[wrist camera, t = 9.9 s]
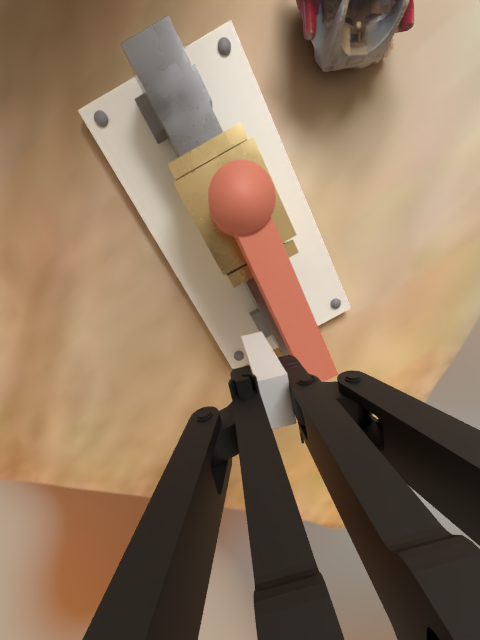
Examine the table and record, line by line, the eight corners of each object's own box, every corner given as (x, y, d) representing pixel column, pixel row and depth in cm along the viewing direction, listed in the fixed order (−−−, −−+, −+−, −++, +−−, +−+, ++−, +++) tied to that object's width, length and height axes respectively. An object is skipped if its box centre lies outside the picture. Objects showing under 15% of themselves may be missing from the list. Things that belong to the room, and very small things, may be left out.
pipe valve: (130, 105, 24) (84, 20, 15) (193, 68, 23) (181, -39, 15) (261, 343, 31) (277, 374, 22) (310, 316, 30) (346, 337, 22)
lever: (198, 190, 18) (195, 179, 15) (252, 161, 18) (258, 146, 15) (291, 380, 22) (299, 395, 20) (335, 359, 22) (349, 370, 20)
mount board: (84, 117, 24) (76, 108, 22) (230, 31, 23) (230, 17, 22) (233, 367, 31) (233, 371, 30) (346, 306, 30) (352, 308, 29)
